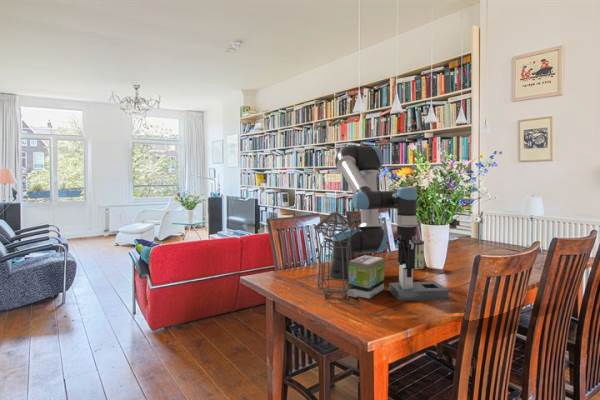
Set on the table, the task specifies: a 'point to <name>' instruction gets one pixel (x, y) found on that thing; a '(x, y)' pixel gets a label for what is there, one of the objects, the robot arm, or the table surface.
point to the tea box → (366, 276)
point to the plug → (402, 278)
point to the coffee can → (419, 254)
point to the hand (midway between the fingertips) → (405, 282)
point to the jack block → (419, 291)
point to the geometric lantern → (317, 227)
